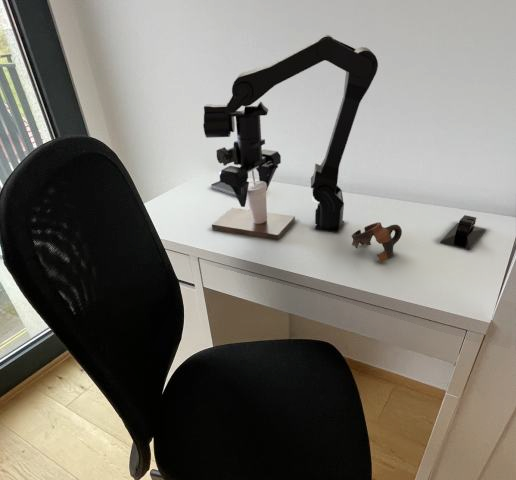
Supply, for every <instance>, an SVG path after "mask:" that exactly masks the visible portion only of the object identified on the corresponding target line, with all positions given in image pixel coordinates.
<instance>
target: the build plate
mask: <svg viewBox="0 0 516 480" xmlns="http://www.w3.org/2000/svg"><path fill="white" fill-rule="evenodd" d="M476 222H477V217H476V216H475V217H474V216H470V215H466V214H464V215H463V216H462V217H461V218H460V219H459V221H458V222H457V223H456V224H455V225H453V227H452V228H451V229H450V230H449V231H448V232H447V233H446V234H445V236H443V238H441V239H440V240H439V243H440V244H443V245H447V246H451V247H455V248H458V249H463V250H466V251H470V250H471V249H472V248H473V246H474V245H475V244H476V243H477V241H478V240H479V239H480V238H481V237H482V236H483V235H484V233H485V232H486V230H487V229H486V228H483V227H479V226H476Z"/></svg>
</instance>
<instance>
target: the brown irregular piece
mask: <svg viewBox="0 0 516 480" xmlns="http://www.w3.org/2000/svg"><path fill="white" fill-rule="evenodd" d="M363 230H364V231H363V232H362V230H361V229H358V230H356V231H355V232H354V233H352V235H351V239H352V242H351V246H352V247H353V246H354V247H355V249H356V250H358V249H359V248H358V247H359V245H361V246H362V247H363V246H371V245H372V244H371V241H372V238H373V237H374V238H375V241H376V242H377V243H378V244H379V245H380V244H381V245H382V248H383V251H381V252H380V253H377V255H376V257H377V259H378V263H379V264H382V263H384V262H386V261H388V260H390V259H392V257H394V246H395V245H396V244H397V243H398V242H399V241H400V239H401V238H402V234H403V230H402V228H401V226H400V225H398V224H391V225H389V226H386V227H384V226H383V225H382V223H381V222H375V223H371V224H369V225H367V226H365V227H363ZM392 232H394V234H393V236H392Z"/></svg>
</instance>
